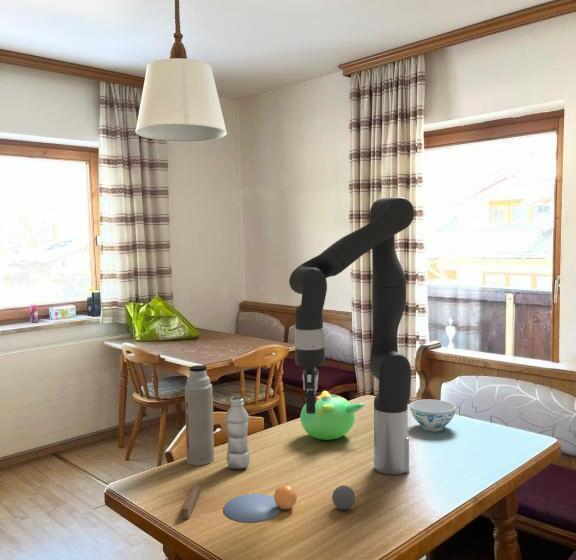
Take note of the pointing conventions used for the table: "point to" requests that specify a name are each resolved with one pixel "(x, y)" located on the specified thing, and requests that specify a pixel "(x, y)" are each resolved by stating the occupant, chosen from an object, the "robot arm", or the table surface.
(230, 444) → the plastic bottle
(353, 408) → the green bird toy
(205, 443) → the thermos bottle
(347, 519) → the table surface
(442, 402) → the chinaware
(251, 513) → the blue mark
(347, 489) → the charcoal ball
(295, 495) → the orange ball
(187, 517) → the walnut rail
